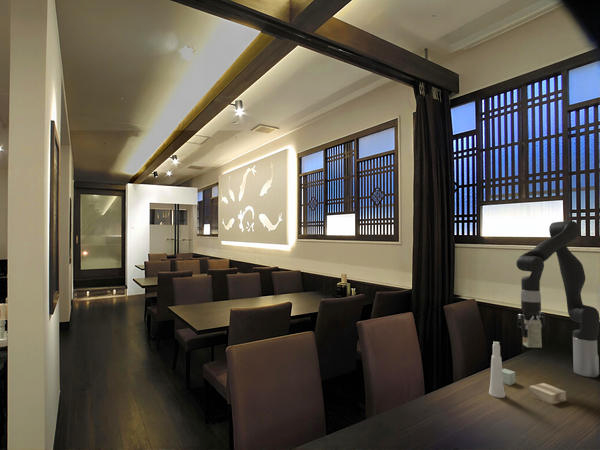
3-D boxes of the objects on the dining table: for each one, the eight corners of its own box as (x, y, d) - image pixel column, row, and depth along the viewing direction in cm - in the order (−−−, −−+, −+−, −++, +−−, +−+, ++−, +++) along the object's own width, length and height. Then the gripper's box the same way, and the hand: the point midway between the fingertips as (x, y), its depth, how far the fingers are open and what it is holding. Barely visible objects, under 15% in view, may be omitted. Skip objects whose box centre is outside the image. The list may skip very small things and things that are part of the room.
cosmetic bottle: (488, 396, 147) (488, 343, 148) (488, 390, 152) (488, 339, 153) (505, 399, 144) (504, 345, 145) (504, 393, 150) (504, 341, 150)
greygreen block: (504, 379, 165) (504, 368, 165) (515, 383, 160) (515, 372, 161) (498, 381, 162) (498, 370, 162) (509, 385, 158) (509, 374, 158)
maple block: (543, 392, 152) (543, 382, 152) (566, 401, 143) (565, 391, 143) (529, 395, 148) (529, 386, 149) (551, 405, 140) (551, 395, 140)
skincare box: (536, 344, 161) (536, 318, 162) (542, 347, 157) (541, 320, 157) (521, 344, 162) (521, 317, 162) (527, 347, 158) (526, 320, 158)
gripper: (535, 297, 166) (536, 332, 165) (511, 299, 162) (512, 335, 161) (550, 300, 158) (551, 337, 158) (526, 302, 154) (526, 340, 154)
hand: (531, 336), depth 160 cm, fingers closed on skincare box, 7 cm apart
